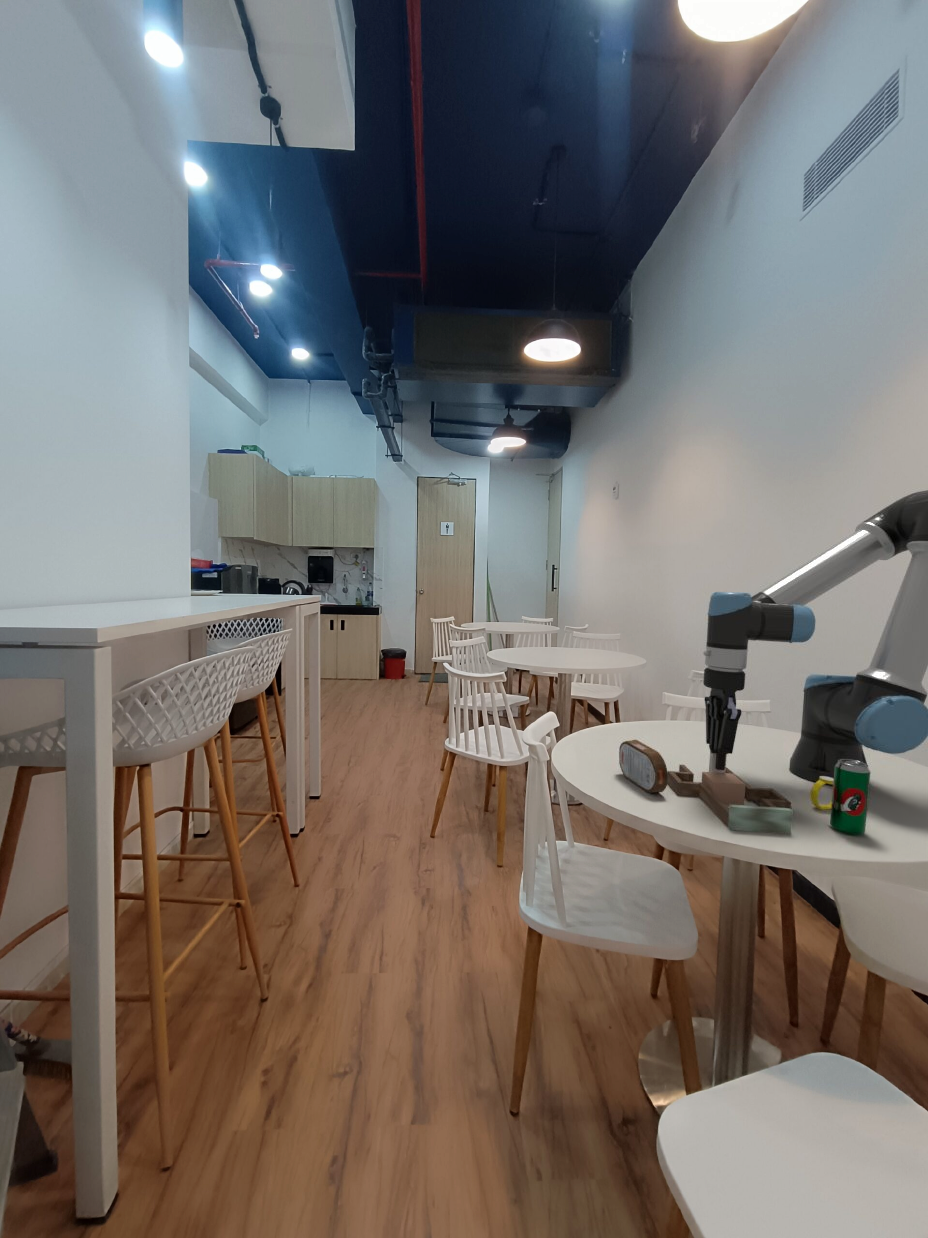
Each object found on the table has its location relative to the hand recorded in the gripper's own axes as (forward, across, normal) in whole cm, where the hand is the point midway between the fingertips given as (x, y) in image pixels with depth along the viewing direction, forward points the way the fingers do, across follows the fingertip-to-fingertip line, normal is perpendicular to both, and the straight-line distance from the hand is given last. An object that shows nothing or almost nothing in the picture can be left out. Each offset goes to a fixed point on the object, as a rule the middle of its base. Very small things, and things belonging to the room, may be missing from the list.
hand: (716, 783), depth 113 cm
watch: (+2, +6, +18) cm, 19 cm away
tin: (+2, -1, -15) cm, 15 cm away
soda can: (+2, +16, +16) cm, 23 cm away
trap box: (+2, +6, 0) cm, 6 cm away
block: (+2, +4, 0) cm, 4 cm away
